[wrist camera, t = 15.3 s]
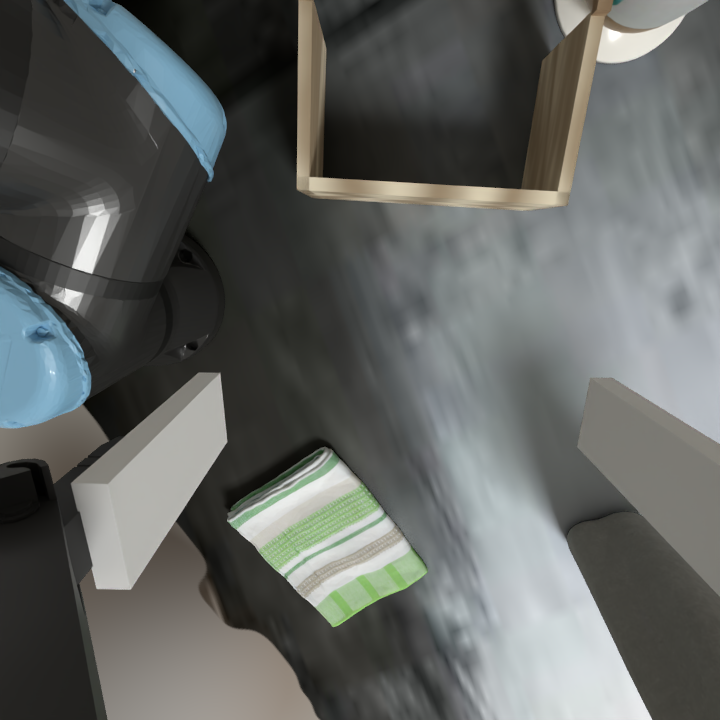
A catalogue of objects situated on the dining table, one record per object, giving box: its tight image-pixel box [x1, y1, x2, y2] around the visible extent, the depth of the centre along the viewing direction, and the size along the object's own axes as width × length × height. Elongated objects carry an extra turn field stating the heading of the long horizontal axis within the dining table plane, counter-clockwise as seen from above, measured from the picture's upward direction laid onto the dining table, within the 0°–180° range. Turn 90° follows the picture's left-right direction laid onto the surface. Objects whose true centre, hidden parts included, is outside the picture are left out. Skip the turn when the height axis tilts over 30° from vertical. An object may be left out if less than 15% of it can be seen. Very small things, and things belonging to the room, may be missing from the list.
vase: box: [567, 512, 720, 720], centre depth 39 cm, size 12×12×30 cm
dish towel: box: [227, 447, 428, 627], centre depth 54 cm, size 17×23×4 cm
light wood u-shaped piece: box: [297, 0, 613, 211], centre depth 35 cm, size 22×14×10 cm, turn 87°
